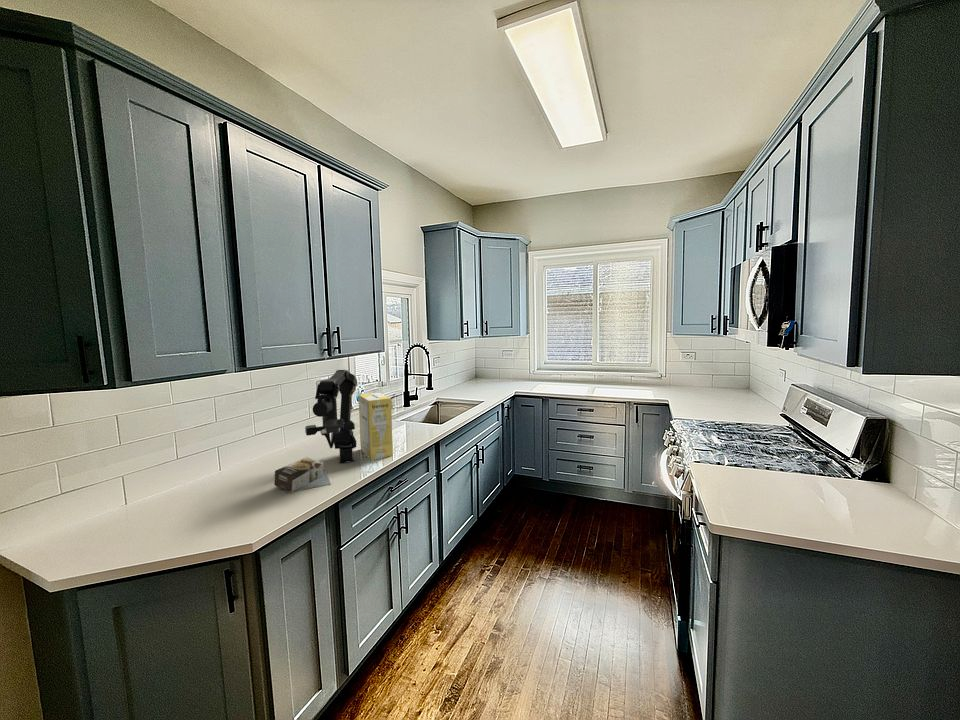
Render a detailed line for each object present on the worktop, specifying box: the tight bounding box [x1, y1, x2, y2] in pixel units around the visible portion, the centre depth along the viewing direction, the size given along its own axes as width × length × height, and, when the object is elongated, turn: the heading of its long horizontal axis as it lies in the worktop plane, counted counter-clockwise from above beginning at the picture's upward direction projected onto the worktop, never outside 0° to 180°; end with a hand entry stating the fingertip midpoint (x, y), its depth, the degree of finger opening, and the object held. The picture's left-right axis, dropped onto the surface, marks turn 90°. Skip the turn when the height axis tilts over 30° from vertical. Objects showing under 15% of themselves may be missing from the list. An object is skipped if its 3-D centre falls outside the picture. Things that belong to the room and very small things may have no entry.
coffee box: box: [273, 456, 324, 493], centre depth 158 cm, size 9×6×16 cm
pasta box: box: [358, 392, 394, 461], centre depth 194 cm, size 18×10×28 cm, turn 31°
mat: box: [285, 468, 332, 494], centre depth 162 cm, size 18×16×1 cm
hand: (331, 447), depth 165 cm, fingers closed
